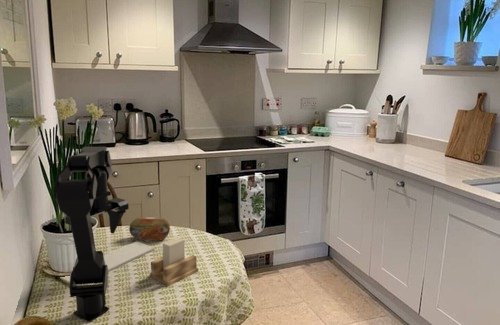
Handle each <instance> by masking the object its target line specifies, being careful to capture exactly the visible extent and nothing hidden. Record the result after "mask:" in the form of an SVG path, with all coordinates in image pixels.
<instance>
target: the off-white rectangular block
mask: <svg viewBox="0 0 500 325" xmlns="http://www.w3.org/2000/svg"><path fill="white" fill-rule="evenodd" d="M162 257H163V268H165V267H167V266H169V265H172V264H174V263H176V262H178V261H181V260H183V259H185V258H186V257H185V239H184V238H181V237H178V236H177V237H175V238H172V239H169V240H167V241H165V242H162Z"/></svg>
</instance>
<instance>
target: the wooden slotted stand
mask: <svg viewBox="0 0 500 325" xmlns="http://www.w3.org/2000/svg"><path fill="white" fill-rule="evenodd" d="M197 272H199V268H198V267H197V256H196V255H194V254H191V255H190V256H187V257H185V259H183V260H181V261H178V262H176V263H174V264H172V265H169V266H167V267H165V268H163V256H162V257H160V258H157V259H154V260H152V261H150V273H149V276H150V277H151V278H153V279H155V280H156V281H158V282H161V283H162V284H164V285H166V286H167V287H169V286H171V285H173V284H176V283H178V282H180V281H182V280H184V279H186V278H188V277H189V276H192V275H194V274H196V273H197Z"/></svg>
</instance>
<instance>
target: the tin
mask: <svg viewBox="0 0 500 325" xmlns="http://www.w3.org/2000/svg"><path fill="white" fill-rule="evenodd" d="M170 226H171V225H170V223H169V222H168V220H166V219H165V218H163V217H151V216H150V217H149V216H148V217H143V216H140V217H136V218H135V219H134V220H132V221H131V222H130V225H129V232H130V235H131V237H133V239H135V240H137V241H142V240H144V241H163V240H164V239H166V238H167V237H168V236H169V234H170V230H171V227H170Z"/></svg>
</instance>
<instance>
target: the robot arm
mask: <svg viewBox="0 0 500 325" xmlns="http://www.w3.org/2000/svg"><path fill="white" fill-rule="evenodd" d="M112 165H113V163H112V158H111V154H110V151H109V150H108V149H107V146H83V147H82V148H81V149H80V151H79V153H78V154H75V155H74V154H72V155H71V156H70V155H69V156H68V158H67V163H66V165H65V166H64V167H63V168H62V169H61V170H60V171H59V172H58V173H57V174H56V179H55V183H54V188H53V198H54V200H55V201H56V202H57V207H58V208H59V211H60V212H62V214H65V218H64V219H65V222H64V223H65V224H66V225H69V226H70V228H71V233H72V238H73V242H74V243H73V244H74V248H75V253H76V259H75V263H74V266H73V267H72V269H73V270H72V272H71V274H70V284H69V295H70V298H74V297H75V301H76V310H75V311H73V315H74V316H76V317H78V318H80V319H81V320H84V321H86V322H92V321H94V320H95V319H97V318H98V317H100V316H101V315H103V314H105V313H106V312H108V311H110V307H108V306H106V304H107V303H106V293H107V289H108V287H109V286H108V285H109V283H108V282H109V277H108V276H109V275H108V274H109V272H108V266H107V265H105V260H104V255H105V254H104V252H103V251H102V250H97V249H96V242H95V238H94V232H93V224H92V219H91V218H93V217H96V216H98V215H101V214H104V213H107V214H108V218H109V230H110V233H111V234H115V232H116V230H117V228H118V226H119V223H120V221H121V220H122V218H123V216H124V214H125V213H126V212H127V211H128V210H129V207H130V206H129V202H128V200H126V199H124V198H120V197H119V198H118V197H113V198H111V199H109V196H112V193H111V191H109V190H108V181H109V179H110V177H111V175H112V171H113V170H112ZM81 172H84V173H85V172H86V173H85V179H70V177H71V176H72V175H73V173H81ZM126 210H127V211H126ZM77 284H78V285H79V284H82V285H79V286H77Z"/></svg>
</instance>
